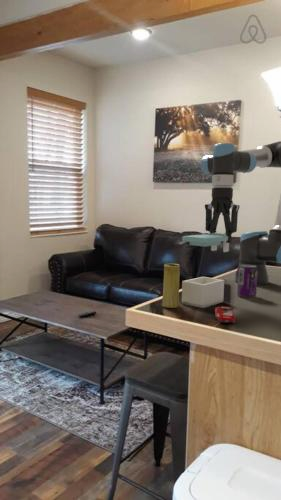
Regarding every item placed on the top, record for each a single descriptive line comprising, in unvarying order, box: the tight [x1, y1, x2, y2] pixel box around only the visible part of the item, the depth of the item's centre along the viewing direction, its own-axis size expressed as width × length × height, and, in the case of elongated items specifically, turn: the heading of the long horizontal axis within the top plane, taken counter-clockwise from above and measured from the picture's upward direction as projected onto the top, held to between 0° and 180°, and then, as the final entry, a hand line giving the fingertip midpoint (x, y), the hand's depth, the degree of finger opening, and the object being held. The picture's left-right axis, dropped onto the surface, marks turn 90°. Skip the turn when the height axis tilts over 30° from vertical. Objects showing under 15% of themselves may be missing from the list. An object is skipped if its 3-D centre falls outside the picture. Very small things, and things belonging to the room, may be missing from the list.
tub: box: [181, 276, 225, 309], centre depth 144 cm, size 13×9×8 cm
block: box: [181, 232, 228, 248], centre depth 145 cm, size 20×10×3 cm, turn 137°
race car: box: [214, 306, 236, 324], centre depth 125 cm, size 13×5×4 cm, turn 173°
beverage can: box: [236, 264, 258, 299], centre depth 156 cm, size 7×7×12 cm
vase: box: [161, 263, 181, 309], centre depth 139 cm, size 6×6×14 cm
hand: (219, 250), depth 150 cm, fingers closed on block, 4 cm apart
